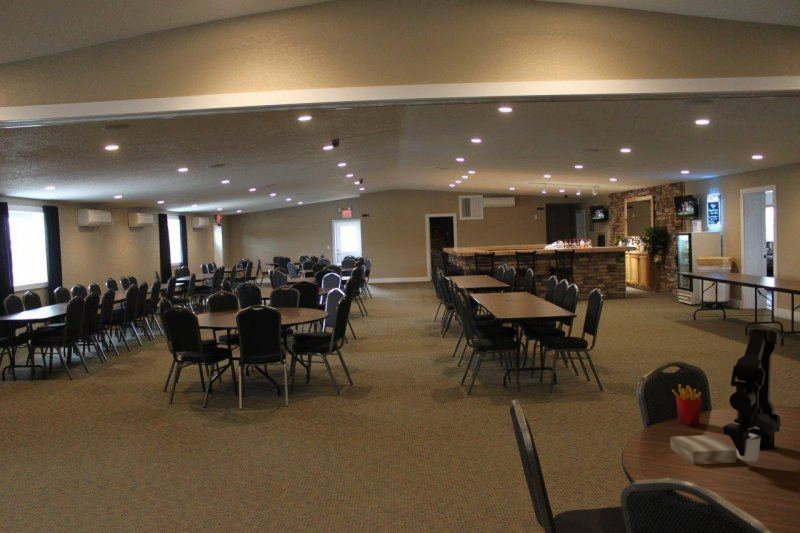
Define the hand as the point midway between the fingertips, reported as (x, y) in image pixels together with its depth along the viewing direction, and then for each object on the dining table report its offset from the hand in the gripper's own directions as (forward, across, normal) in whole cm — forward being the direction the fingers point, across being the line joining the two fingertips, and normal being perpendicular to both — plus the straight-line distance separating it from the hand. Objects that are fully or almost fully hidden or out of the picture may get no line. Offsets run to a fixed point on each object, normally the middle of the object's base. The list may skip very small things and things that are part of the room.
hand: (747, 453), depth 187 cm
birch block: (+5, -1, +14) cm, 14 cm away
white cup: (+2, 0, 0) cm, 2 cm away
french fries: (+5, +24, +34) cm, 41 cm away
